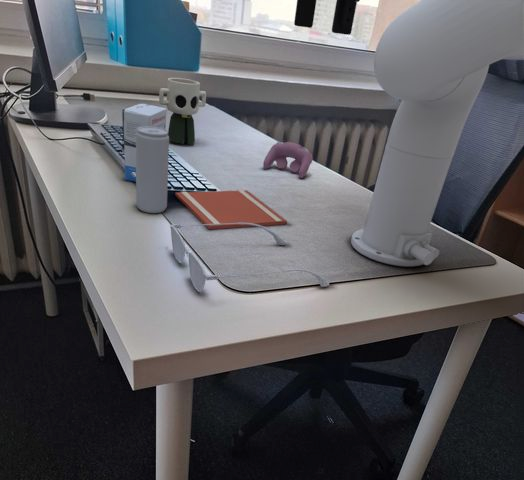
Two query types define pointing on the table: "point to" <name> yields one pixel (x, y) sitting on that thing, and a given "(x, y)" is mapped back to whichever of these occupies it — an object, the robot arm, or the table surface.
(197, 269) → the eyeglasses
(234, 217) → the towel
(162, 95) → the character mug
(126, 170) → the ink box
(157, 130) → the beverage can
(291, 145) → the video game controller
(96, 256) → the table surface
